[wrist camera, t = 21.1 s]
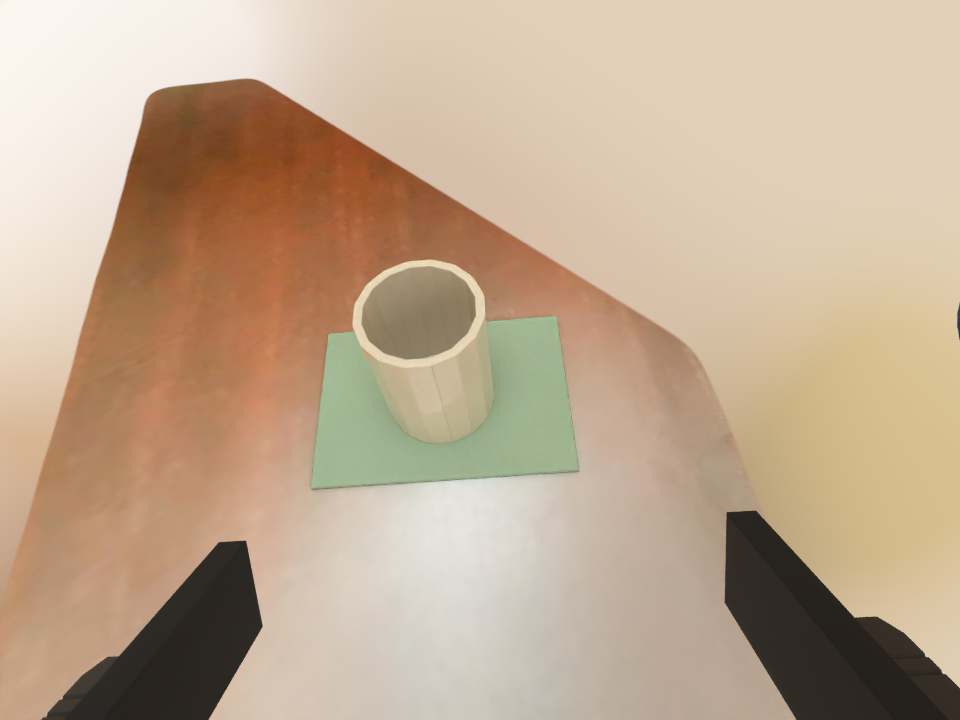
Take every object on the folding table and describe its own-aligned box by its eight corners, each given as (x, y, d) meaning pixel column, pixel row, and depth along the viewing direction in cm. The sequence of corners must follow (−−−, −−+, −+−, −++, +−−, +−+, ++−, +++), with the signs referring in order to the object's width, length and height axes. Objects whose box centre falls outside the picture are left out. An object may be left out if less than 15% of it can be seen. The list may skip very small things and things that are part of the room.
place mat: (556, 318, 49) (556, 315, 49) (578, 471, 42) (578, 469, 41) (329, 336, 50) (328, 333, 49) (311, 489, 42) (310, 487, 42)
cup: (491, 348, 47) (481, 254, 38) (497, 440, 43) (488, 361, 33) (392, 355, 48) (357, 265, 38) (388, 448, 43) (347, 372, 34)
